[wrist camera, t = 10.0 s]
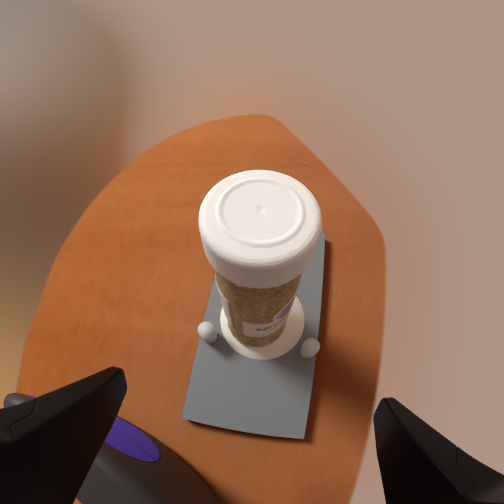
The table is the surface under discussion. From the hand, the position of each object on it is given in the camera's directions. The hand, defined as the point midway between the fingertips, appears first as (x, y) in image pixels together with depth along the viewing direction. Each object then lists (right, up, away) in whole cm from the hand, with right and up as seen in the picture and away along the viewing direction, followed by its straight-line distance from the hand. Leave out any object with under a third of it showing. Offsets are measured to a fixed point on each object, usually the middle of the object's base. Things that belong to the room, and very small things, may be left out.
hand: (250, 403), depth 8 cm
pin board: (+1, -1, +14) cm, 14 cm away
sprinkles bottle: (0, 0, +13) cm, 14 cm away
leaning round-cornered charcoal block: (-9, -12, +8) cm, 17 cm away
